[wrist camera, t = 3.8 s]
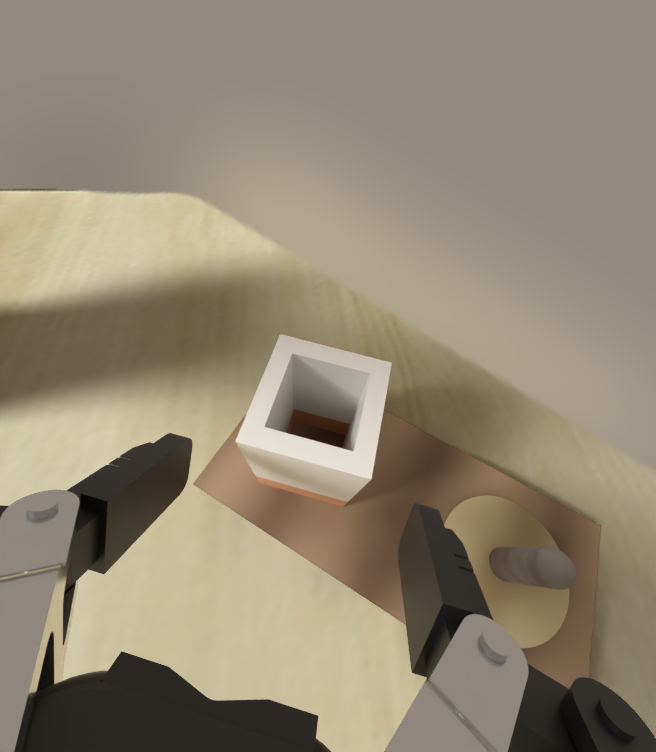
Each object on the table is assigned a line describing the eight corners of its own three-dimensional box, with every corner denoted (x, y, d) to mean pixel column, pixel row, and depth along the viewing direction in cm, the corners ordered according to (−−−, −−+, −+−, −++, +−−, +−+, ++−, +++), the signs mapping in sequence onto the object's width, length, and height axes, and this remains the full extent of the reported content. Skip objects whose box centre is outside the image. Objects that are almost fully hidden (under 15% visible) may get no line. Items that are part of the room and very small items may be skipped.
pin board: (202, 489, 19) (160, 464, 13) (289, 372, 24) (286, 315, 18) (551, 720, 15) (707, 826, 10) (574, 527, 20) (690, 518, 14)
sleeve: (342, 506, 18) (371, 479, 11) (259, 483, 18) (235, 441, 11) (359, 426, 20) (391, 362, 13) (286, 407, 20) (280, 333, 13)
